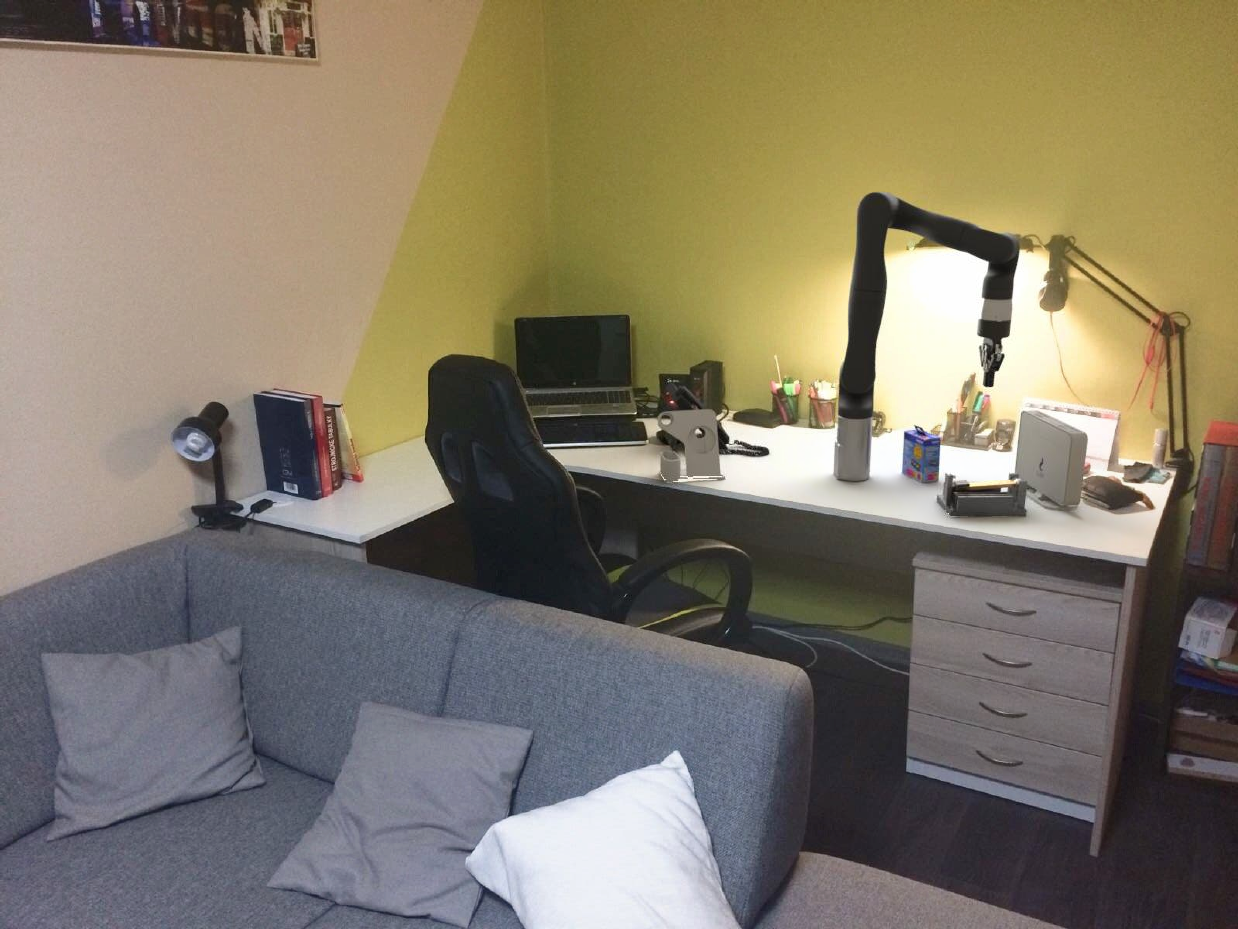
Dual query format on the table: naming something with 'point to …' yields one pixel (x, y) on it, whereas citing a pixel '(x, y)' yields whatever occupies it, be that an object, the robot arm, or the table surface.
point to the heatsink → (983, 500)
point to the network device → (1051, 459)
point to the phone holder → (692, 445)
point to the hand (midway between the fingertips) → (988, 386)
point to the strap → (985, 484)
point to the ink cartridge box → (921, 455)
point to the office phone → (685, 403)
